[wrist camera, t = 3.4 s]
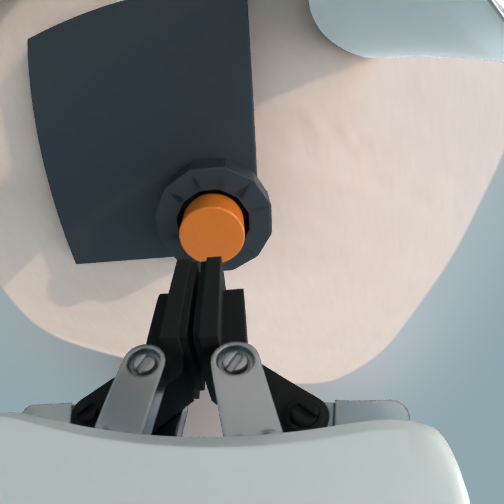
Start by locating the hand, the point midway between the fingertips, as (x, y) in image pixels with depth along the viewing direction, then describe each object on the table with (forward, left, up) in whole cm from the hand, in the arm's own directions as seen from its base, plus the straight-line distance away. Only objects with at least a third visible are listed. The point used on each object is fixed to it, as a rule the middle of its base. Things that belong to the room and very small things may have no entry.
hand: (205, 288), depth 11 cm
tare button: (0, 0, -5) cm, 5 cm away
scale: (-5, -4, -8) cm, 10 cm away
